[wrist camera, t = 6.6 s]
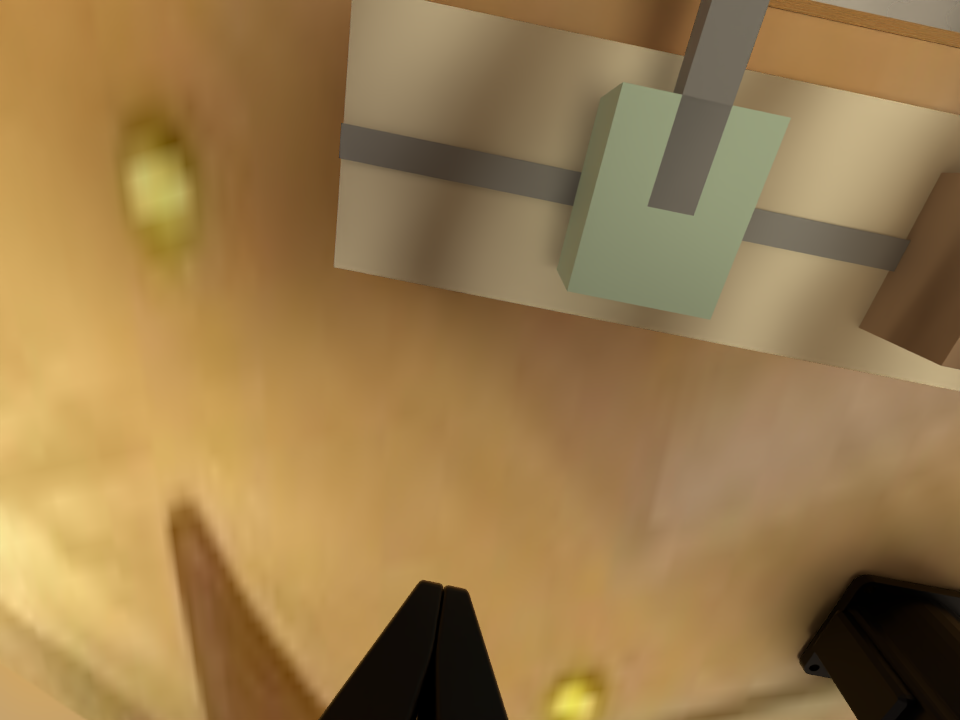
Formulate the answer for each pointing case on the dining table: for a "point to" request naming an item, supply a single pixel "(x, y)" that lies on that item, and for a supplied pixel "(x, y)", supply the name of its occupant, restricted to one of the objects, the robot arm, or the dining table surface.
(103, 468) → the dining table surface
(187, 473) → the dining table surface
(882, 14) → the bolt hole plate
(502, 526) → the dining table surface
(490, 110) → the board
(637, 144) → the slider leg
